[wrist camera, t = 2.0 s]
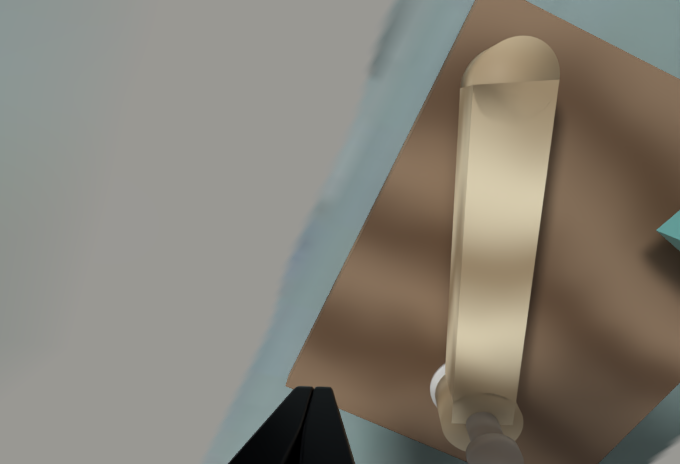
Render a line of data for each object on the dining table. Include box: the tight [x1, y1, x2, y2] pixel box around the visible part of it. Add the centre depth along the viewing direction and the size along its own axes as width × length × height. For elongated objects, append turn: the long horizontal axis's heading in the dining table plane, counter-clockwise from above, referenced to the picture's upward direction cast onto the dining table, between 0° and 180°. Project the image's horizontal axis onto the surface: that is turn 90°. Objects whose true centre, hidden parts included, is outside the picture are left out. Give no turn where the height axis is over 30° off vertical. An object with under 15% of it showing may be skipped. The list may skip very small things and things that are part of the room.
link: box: [435, 36, 560, 464], centre depth 15 cm, size 20×4×4 cm, turn 3°
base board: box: [286, 0, 680, 464], centre depth 19 cm, size 22×19×1 cm
